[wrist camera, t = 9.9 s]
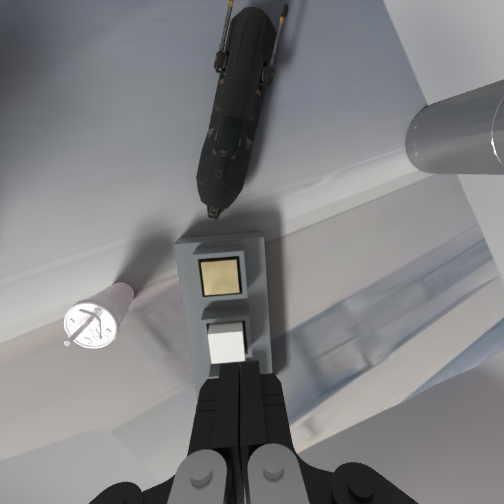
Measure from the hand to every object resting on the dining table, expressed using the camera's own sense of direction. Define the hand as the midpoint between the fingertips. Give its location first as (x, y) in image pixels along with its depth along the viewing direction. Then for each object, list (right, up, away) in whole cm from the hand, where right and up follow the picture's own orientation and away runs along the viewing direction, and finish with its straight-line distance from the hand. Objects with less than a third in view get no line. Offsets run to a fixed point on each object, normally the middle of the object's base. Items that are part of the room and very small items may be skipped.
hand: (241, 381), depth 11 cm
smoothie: (-19, -1, +33) cm, 38 cm away
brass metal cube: (-4, +3, +28) cm, 29 cm away
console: (-3, -5, +35) cm, 35 cm away
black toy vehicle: (-2, +22, +27) cm, 35 cm away
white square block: (-3, -6, +29) cm, 30 cm away
